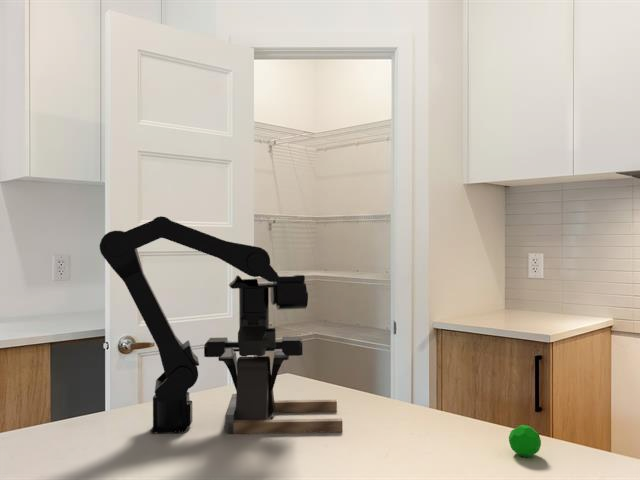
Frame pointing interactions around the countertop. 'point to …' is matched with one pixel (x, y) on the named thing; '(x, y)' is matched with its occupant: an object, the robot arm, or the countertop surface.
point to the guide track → (292, 424)
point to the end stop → (230, 414)
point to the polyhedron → (524, 441)
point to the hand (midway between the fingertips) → (254, 390)
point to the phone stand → (254, 389)
